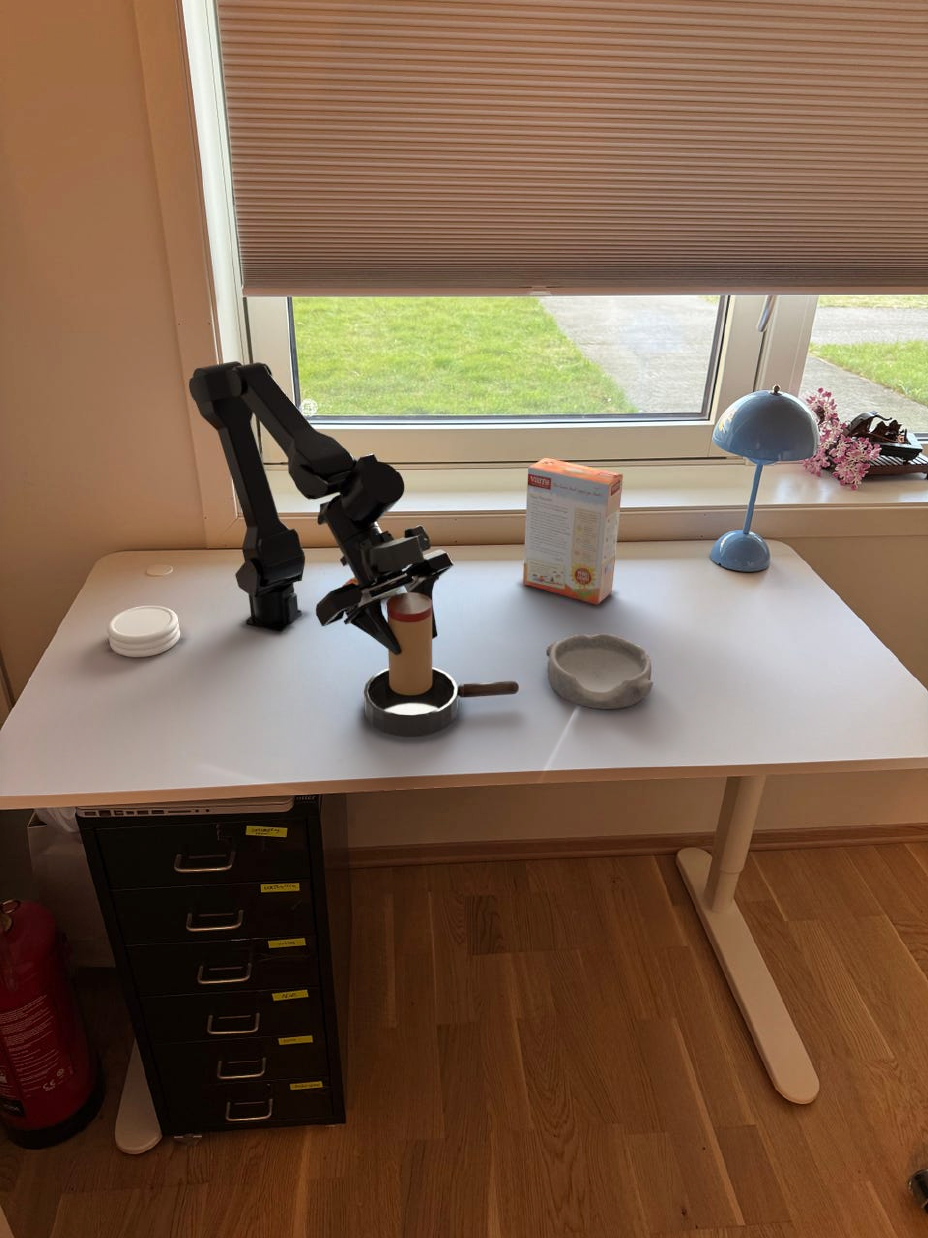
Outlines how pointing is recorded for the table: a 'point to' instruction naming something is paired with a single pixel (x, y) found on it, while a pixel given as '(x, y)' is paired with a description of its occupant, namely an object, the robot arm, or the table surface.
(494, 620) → the table surface
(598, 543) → the cracker box
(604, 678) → the dish
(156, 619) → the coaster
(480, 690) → the pan handle
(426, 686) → the cracker tube
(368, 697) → the pan
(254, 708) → the table surface
